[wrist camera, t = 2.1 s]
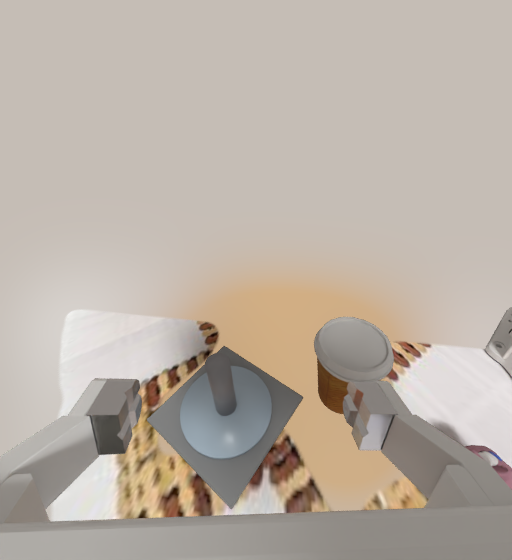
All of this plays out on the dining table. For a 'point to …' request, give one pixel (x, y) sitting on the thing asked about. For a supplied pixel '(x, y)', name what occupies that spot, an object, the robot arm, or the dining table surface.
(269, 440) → the mat
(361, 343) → the disposable coffee cup
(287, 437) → the dining table surface
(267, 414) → the lid
